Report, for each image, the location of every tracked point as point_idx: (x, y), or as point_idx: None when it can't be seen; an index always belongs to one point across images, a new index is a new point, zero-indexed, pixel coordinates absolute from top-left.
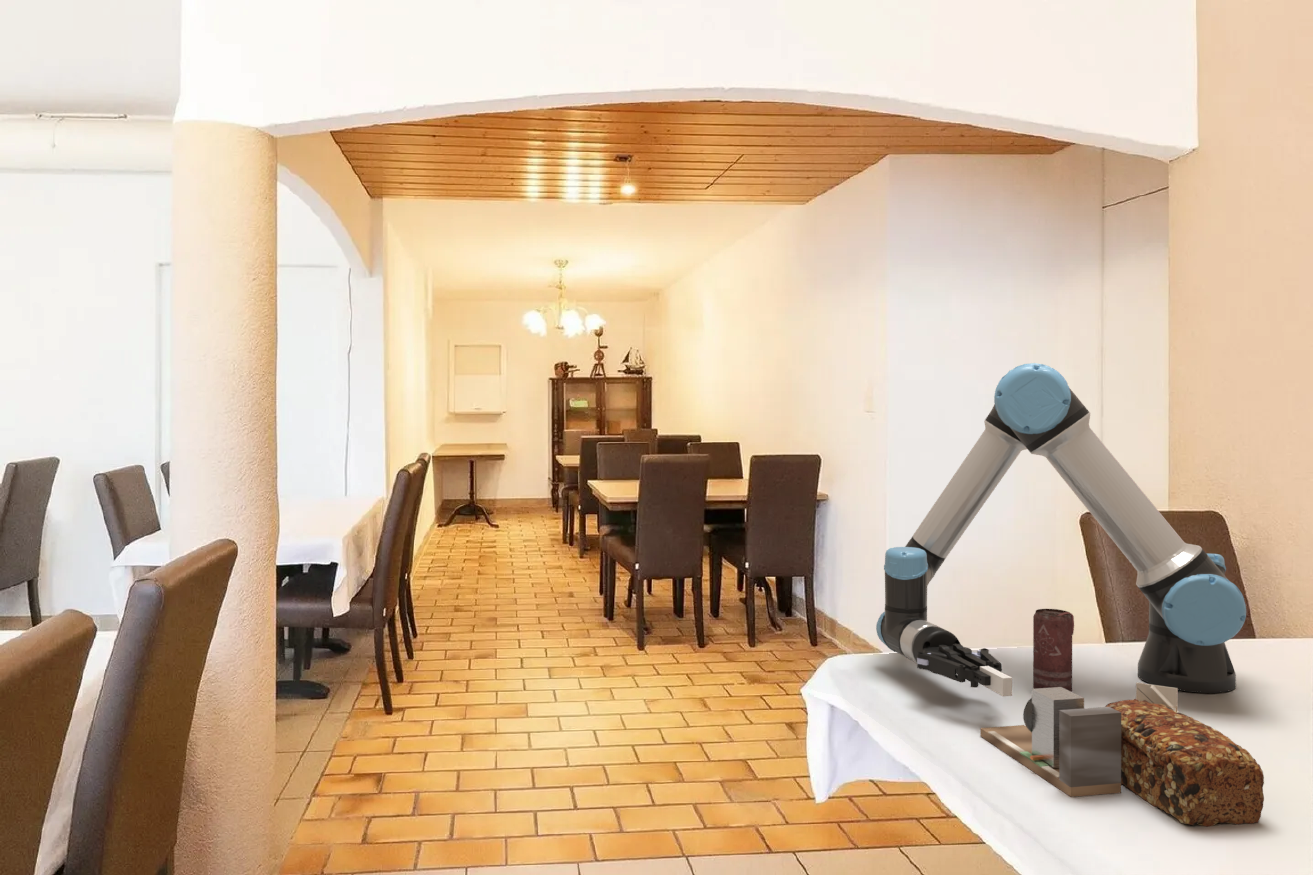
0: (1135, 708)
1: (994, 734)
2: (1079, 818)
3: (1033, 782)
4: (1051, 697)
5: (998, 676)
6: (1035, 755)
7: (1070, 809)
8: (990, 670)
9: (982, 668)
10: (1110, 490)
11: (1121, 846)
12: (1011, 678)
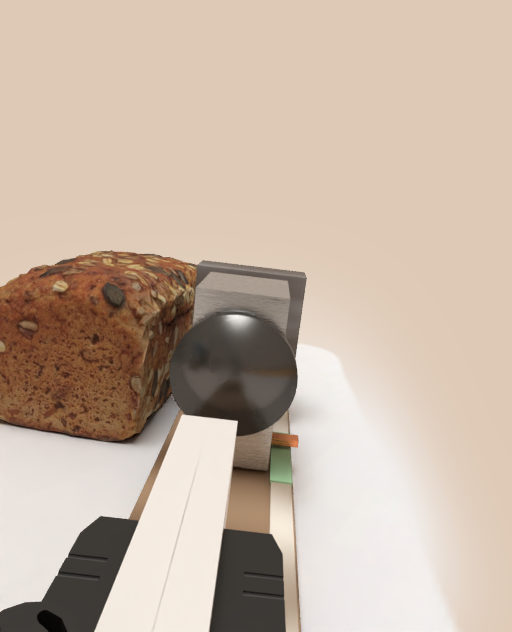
0: (127, 269)
1: (289, 608)
2: (314, 384)
3: (317, 447)
4: (281, 283)
5: (233, 448)
6: (285, 438)
7: (311, 395)
8: (199, 525)
9: (210, 609)
10: None
11: (307, 357)
12: (186, 418)
